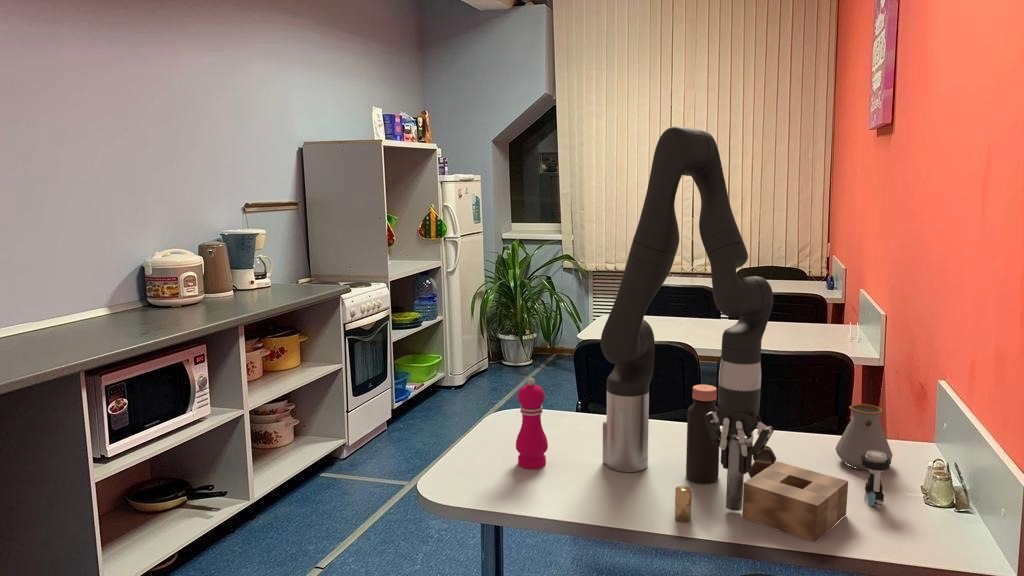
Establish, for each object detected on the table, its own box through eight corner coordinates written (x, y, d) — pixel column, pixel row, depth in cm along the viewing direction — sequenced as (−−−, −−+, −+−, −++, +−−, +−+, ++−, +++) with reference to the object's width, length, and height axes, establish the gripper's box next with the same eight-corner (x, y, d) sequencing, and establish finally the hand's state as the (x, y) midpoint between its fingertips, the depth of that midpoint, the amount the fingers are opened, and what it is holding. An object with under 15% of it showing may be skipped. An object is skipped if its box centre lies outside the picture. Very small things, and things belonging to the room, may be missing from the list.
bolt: (767, 467, 171) (765, 492, 157) (748, 454, 172) (744, 478, 158) (782, 447, 169) (781, 470, 155) (762, 434, 170) (759, 456, 156)
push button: (894, 511, 144) (897, 462, 142) (864, 510, 145) (867, 461, 143) (883, 496, 151) (886, 449, 149) (854, 495, 151) (858, 448, 150)
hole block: (742, 517, 143) (743, 482, 141) (775, 494, 152) (777, 461, 151) (815, 542, 133) (817, 505, 132) (846, 515, 143) (848, 481, 142)
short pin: (671, 519, 142) (672, 489, 141) (680, 513, 145) (681, 484, 144) (685, 524, 140) (686, 494, 139) (694, 518, 142) (694, 488, 142)
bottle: (724, 477, 161) (727, 387, 158) (708, 487, 156) (711, 394, 153) (695, 468, 165) (697, 381, 162) (679, 478, 160) (682, 388, 157)
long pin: (722, 507, 144) (726, 438, 142) (730, 502, 147) (733, 434, 144) (737, 512, 142) (740, 442, 140) (744, 507, 145) (748, 438, 142)
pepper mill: (531, 473, 164) (530, 384, 161) (509, 463, 170) (508, 378, 166) (554, 464, 169) (554, 378, 166) (532, 455, 174) (532, 371, 171)
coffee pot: (835, 451, 174) (838, 388, 172) (890, 458, 170) (894, 394, 167) (833, 487, 155) (837, 418, 153) (895, 496, 151) (901, 425, 148)
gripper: (784, 386, 138) (779, 474, 141) (716, 371, 148) (712, 454, 151) (765, 395, 133) (760, 487, 136) (695, 379, 143) (692, 465, 145)
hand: (735, 469), depth 143 cm, fingers closed on long pin, 3 cm apart
